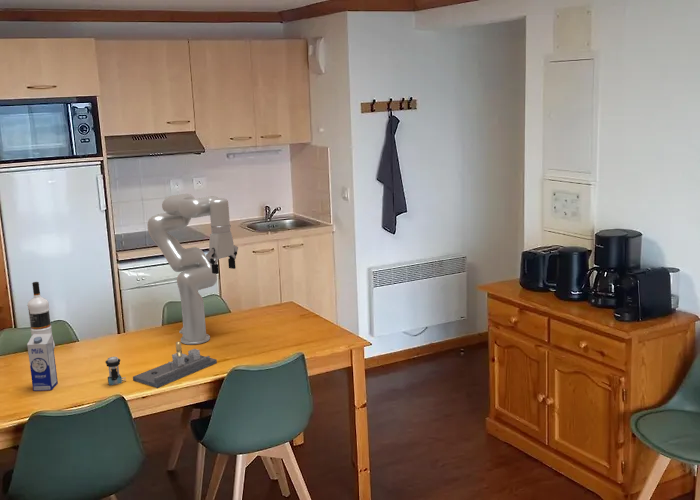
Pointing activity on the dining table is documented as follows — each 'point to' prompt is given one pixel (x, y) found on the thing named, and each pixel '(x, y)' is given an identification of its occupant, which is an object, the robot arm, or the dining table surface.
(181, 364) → the sliding leg
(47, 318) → the vodka
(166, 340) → the dining table surface
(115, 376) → the push button
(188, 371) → the bolt plate
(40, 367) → the milk carton
